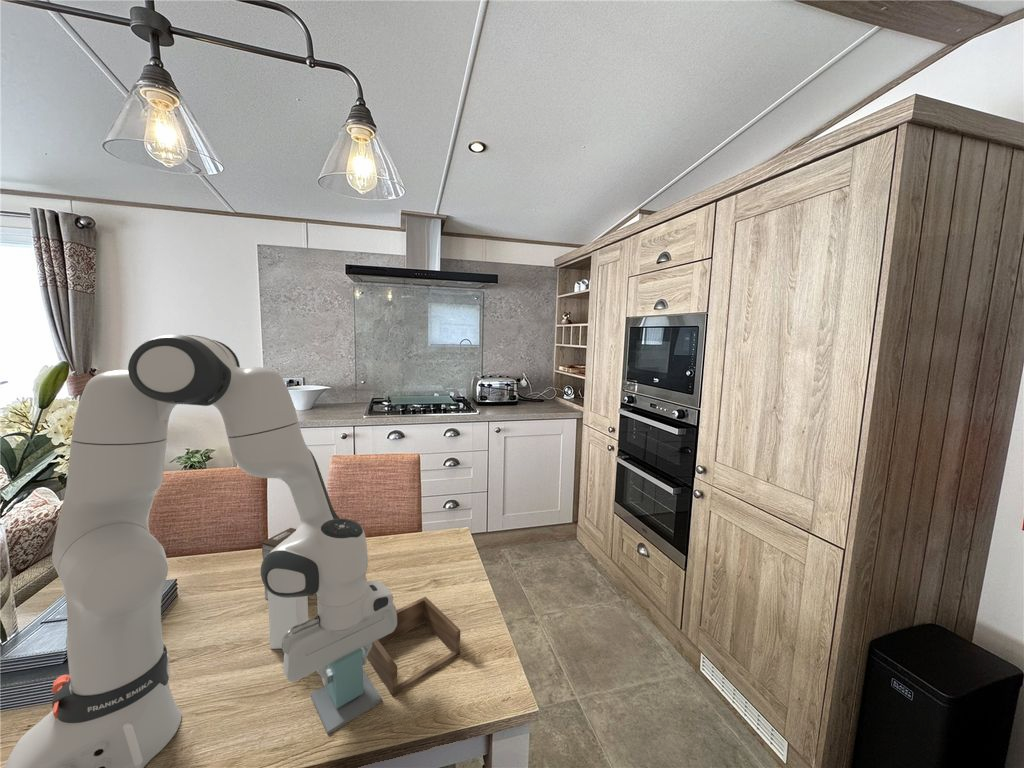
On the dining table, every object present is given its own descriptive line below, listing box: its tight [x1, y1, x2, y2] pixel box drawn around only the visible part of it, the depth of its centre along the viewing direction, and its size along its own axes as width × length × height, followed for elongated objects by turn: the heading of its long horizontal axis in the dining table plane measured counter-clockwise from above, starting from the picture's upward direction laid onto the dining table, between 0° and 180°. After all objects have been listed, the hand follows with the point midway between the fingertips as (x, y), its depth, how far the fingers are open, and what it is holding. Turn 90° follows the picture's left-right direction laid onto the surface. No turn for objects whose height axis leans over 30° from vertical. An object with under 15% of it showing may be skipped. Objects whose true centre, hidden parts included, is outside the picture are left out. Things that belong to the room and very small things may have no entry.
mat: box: [310, 669, 383, 735], centre depth 77 cm, size 10×10×1 cm
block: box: [326, 648, 364, 709], centre depth 77 cm, size 5×5×9 cm
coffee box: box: [261, 527, 297, 600], centre depth 108 cm, size 9×6×16 cm
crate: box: [367, 596, 461, 697], centre depth 89 cm, size 16×15×6 cm
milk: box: [267, 591, 309, 650], centre depth 91 cm, size 6×6×22 cm
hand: (345, 672), depth 77 cm, fingers closed on block, 5 cm apart
